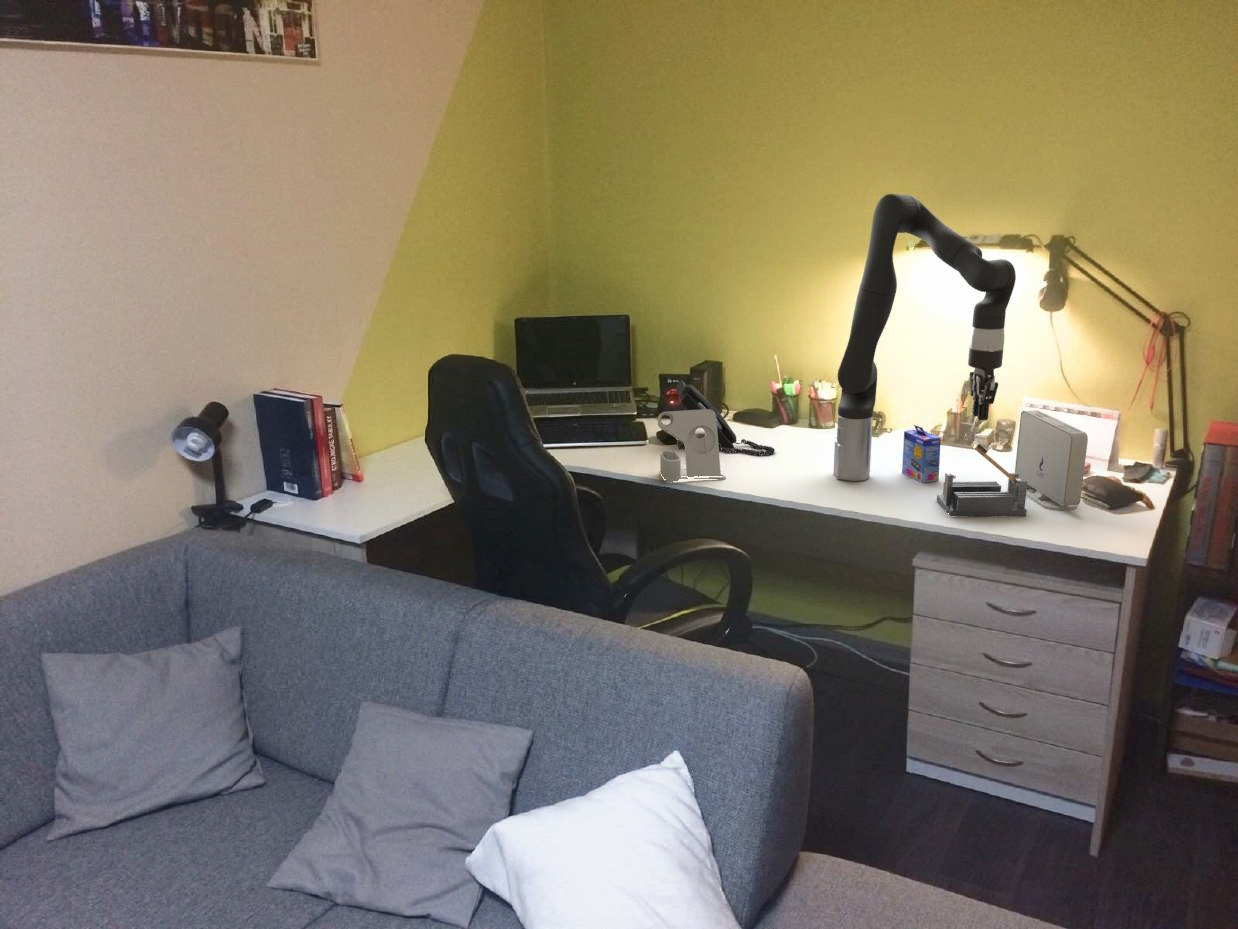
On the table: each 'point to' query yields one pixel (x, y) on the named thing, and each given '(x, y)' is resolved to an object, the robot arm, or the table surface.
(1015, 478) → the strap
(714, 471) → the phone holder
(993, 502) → the heatsink
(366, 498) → the table surface
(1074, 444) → the network device
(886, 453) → the table surface
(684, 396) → the office phone
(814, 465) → the table surface
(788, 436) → the table surface
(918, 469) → the ink cartridge box
